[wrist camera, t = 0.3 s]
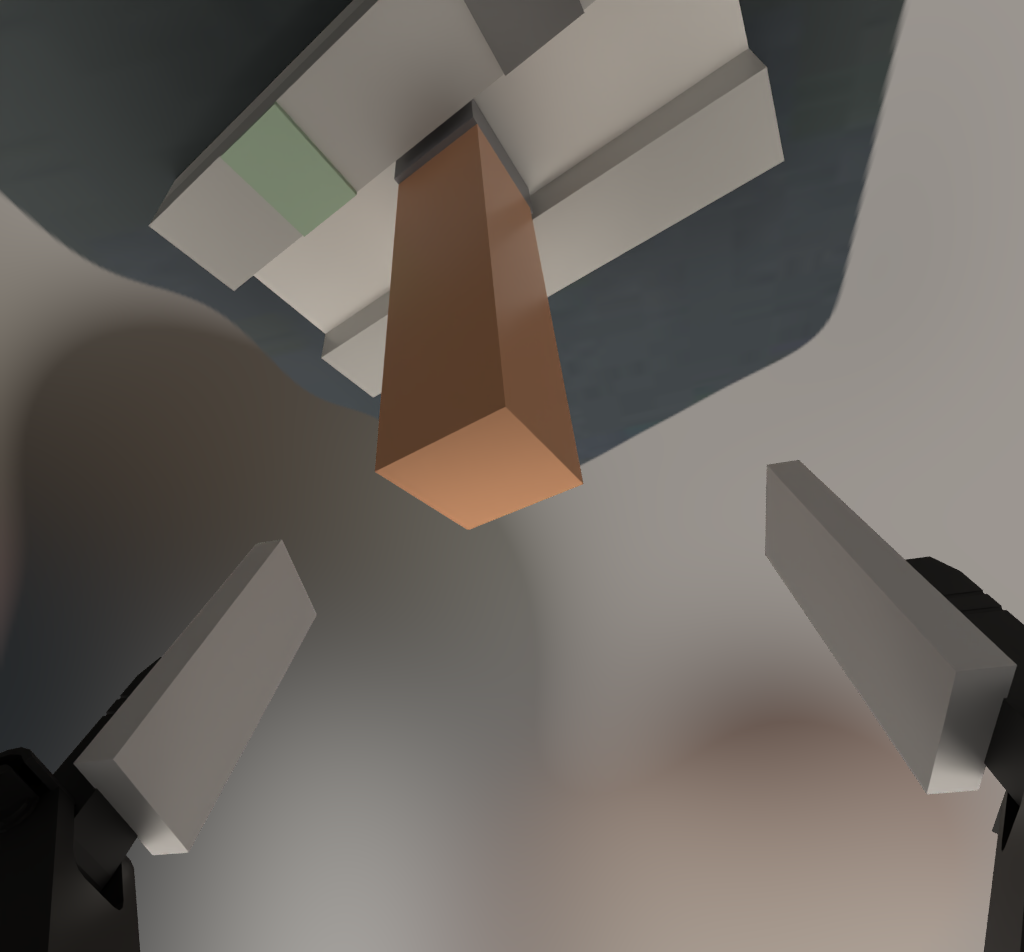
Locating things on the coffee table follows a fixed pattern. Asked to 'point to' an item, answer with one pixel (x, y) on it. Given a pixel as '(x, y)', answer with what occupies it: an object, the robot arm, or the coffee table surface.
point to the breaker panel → (512, 116)
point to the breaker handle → (470, 336)
